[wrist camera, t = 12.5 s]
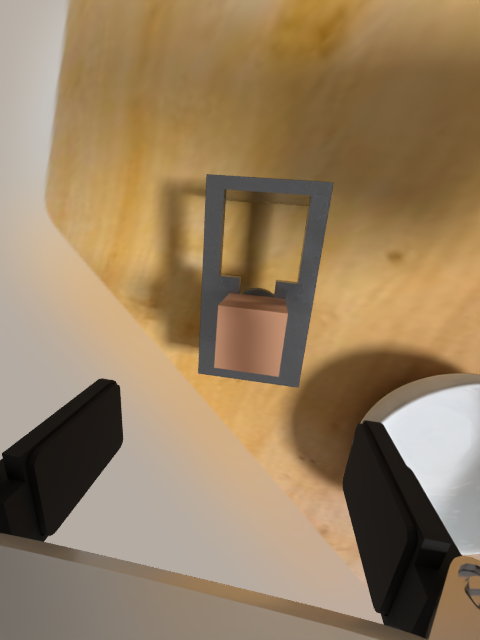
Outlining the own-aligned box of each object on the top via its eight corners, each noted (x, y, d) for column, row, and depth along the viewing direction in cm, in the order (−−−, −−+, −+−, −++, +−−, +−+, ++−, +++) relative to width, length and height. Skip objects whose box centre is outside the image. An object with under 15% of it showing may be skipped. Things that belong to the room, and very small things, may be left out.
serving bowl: (302, 436, 34) (309, 482, 27) (433, 314, 28) (482, 337, 21) (422, 522, 35) (455, 586, 29) (572, 426, 29) (658, 479, 23)
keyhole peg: (285, 291, 26) (289, 312, 18) (278, 338, 28) (279, 378, 20) (234, 285, 27) (216, 303, 19) (230, 332, 28) (212, 368, 20)
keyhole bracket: (221, 188, 27) (206, 174, 21) (320, 195, 26) (333, 182, 20) (211, 350, 32) (198, 373, 26) (294, 360, 31) (298, 387, 25)
